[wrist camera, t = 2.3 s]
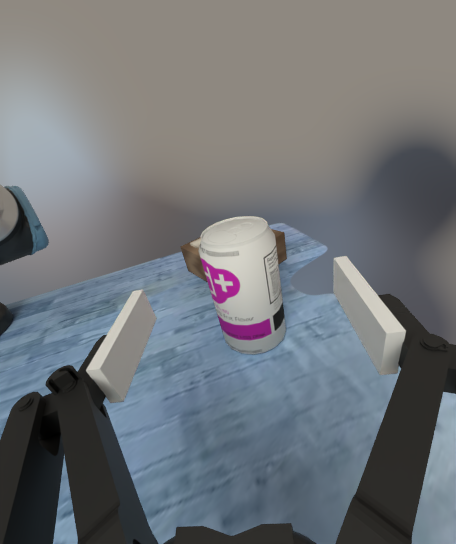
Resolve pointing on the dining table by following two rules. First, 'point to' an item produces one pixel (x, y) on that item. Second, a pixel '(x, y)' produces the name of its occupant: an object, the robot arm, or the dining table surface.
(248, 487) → the dining table surface
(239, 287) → the supplement can
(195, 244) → the walnut pedestal
